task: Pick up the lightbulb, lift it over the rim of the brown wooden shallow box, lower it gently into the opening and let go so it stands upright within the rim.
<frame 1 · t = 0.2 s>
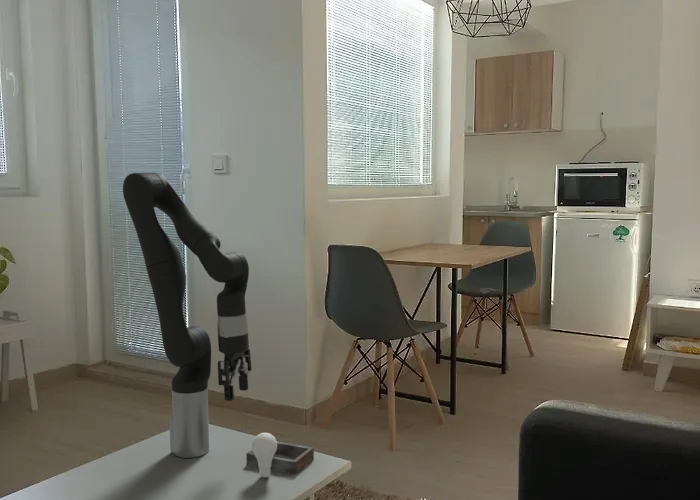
hand: (236, 395, 173), 18 cm above the table, tool pointing down, fingers open, 8 cm apart
lightbulb: (265, 478, 165), on the table
brown wooden shallow box: (280, 461, 174), on the table
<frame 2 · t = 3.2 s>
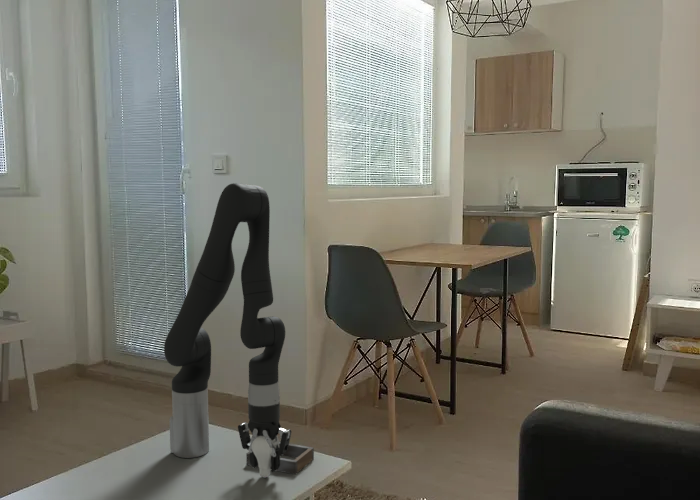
hand: (264, 467, 165), 2 cm above the table, tool pointing down, fingers closed on lightbulb, 5 cm apart
lightbulb: (265, 478, 165), on the table, touching gripper
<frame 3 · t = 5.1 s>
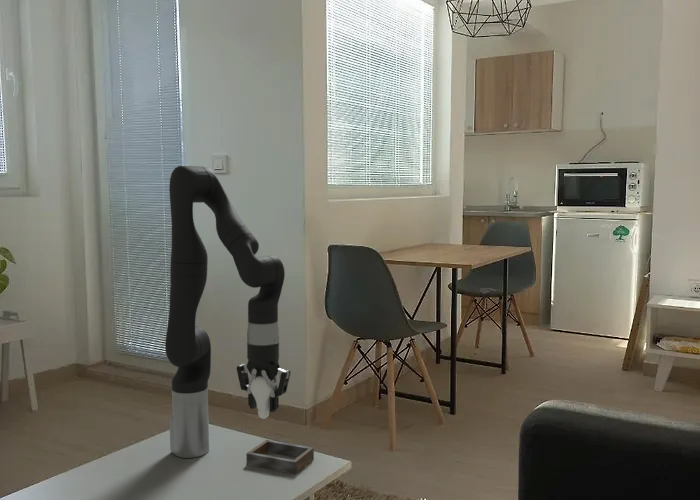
hand: (263, 409, 164), 17 cm above the table, tool pointing down, fingers closed on lightbulb, 5 cm apart
lightbulb: (263, 419, 164), point 14 cm above the table, touching gripper
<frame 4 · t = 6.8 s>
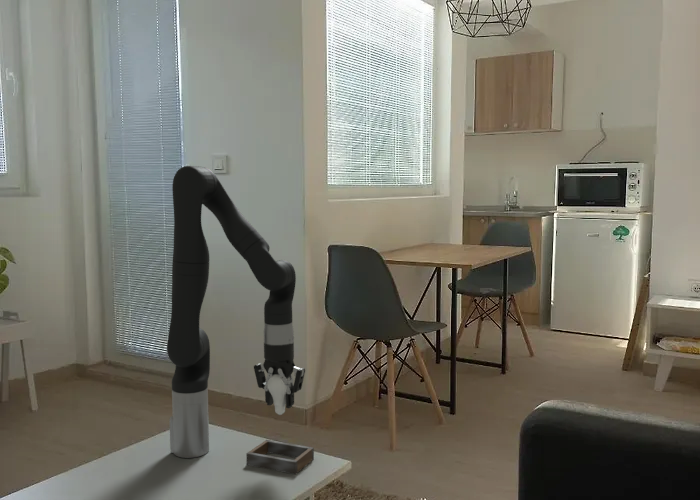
hand: (279, 405, 173), 15 cm above the table, tool pointing down, fingers closed on lightbulb, 5 cm apart
lightbulb: (280, 415, 173), point 12 cm above the table, touching gripper
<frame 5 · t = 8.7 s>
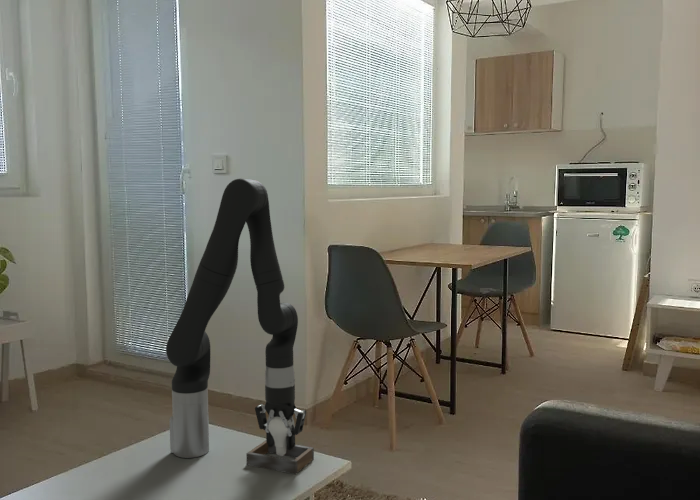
hand: (280, 447, 174), 4 cm above the table, tool pointing down, fingers closed on lightbulb, 5 cm apart
lightbulb: (281, 456, 174), point 1 cm above the table, touching gripper
when the fingers open (3 cm above the table, at t = 10.4 s): lightbulb stays where it is, resting in brown wooden shallow box.
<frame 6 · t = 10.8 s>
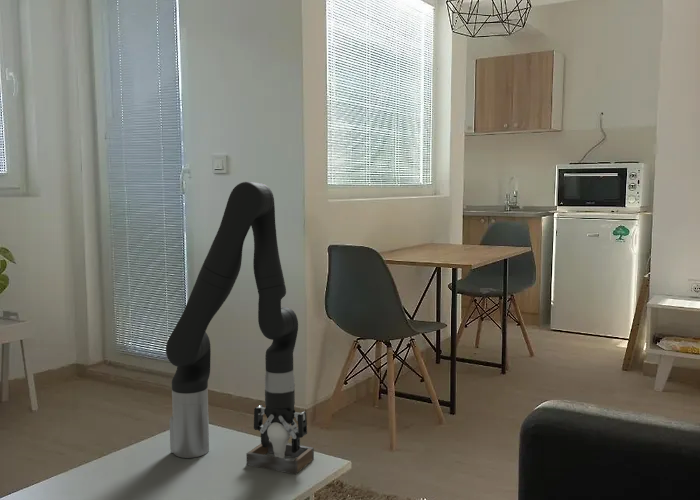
hand: (280, 449, 174), 3 cm above the table, tool pointing down, fingers open, 8 cm apart
lightbulb: (279, 462, 175), resting in brown wooden shallow box
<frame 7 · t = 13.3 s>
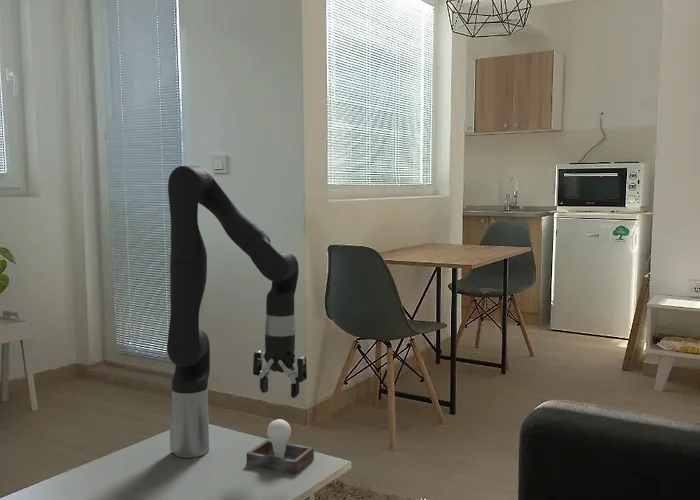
hand: (279, 394, 173), 18 cm above the table, tool pointing down, fingers open, 8 cm apart
nothing on the table moved.
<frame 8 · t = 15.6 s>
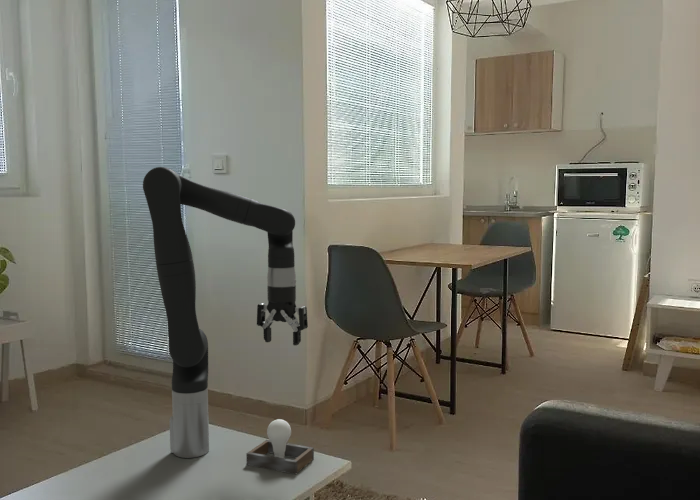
hand: (282, 343, 183), 28 cm above the table, tool pointing down, fingers open, 8 cm apart
nothing on the table moved.
at the end: lightbulb 0.4 cm off-centre on the brown wooden shallow box, point 0.0 cm above the brown wooden shallow box's base; lightbulb tilted 0°; the gripper is holding nothing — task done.
